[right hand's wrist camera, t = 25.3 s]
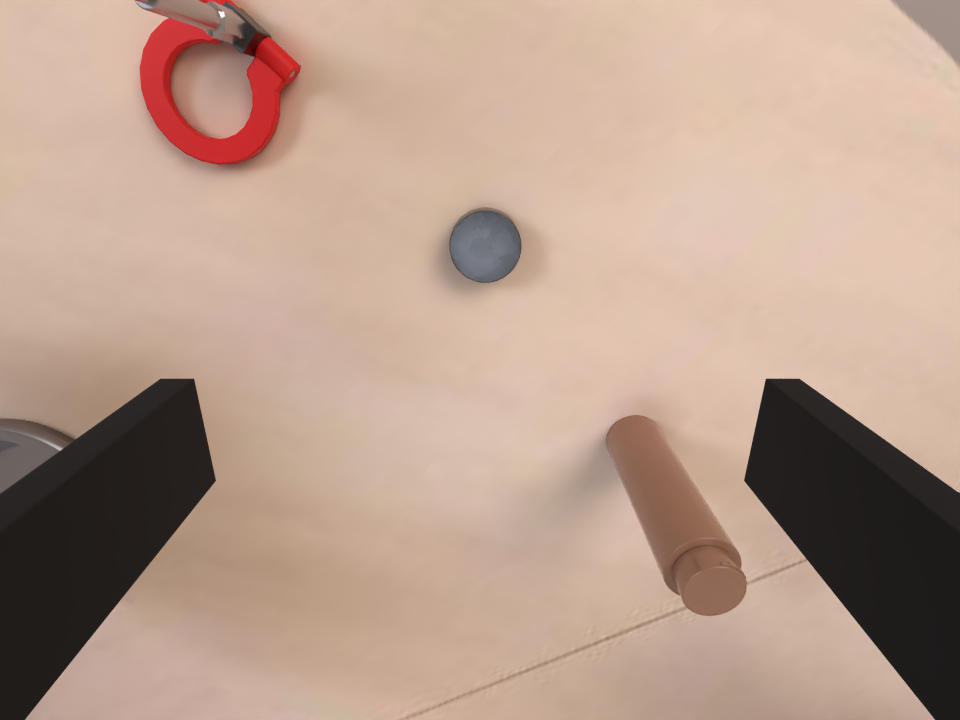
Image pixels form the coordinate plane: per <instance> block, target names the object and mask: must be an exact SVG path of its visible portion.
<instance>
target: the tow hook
mask: <svg viewBox="0 0 960 720" xmlns="http://www.w3.org/2000/svg"><path fill="white" fill-rule="evenodd" d="M135 2H136V3H137V4H138V5H139V6H140V7H141V8H143V9H145V10H148V11H151V12H154V13H157V14H160V15H163V16H166V17H168V18H169V19H167V20H165V21H163V22H162V23H161V24H160V25H159V26H158V27H157V28H156V29H155V30H154V31H153V32H152V33H151V35H150V37H149V39H148V41H147V43H146V45H145V47H144V49H143V54H142V60H141V65H140V77H141V89H142V93H143V96H144V99H145V103H146V106H147V109H148V111H149V112H150V114H151V116H152V118H153V120H154V122H155V123H156V125H157V127H158V128H159V129H160V130H161V131H162V133H163V134H164V135H165V136H166V137H167V139H168V140H169V141H170V142H171V143H173V144H174V145H175V146H176V147H178V148H179V149H180V150H182V151H183V152H184V153H185V154H188V155H190V156H192V157H194V158H196V159H198V160H201V161H204V162H209V163H214V164H229V163H239V162H242V161H244V160H246V159H249V158H251V157H254V156H255V155H256V154H257V153H259V152H260V151H261V150H262V149H263V148H264V147H266V146H267V144H268V142H269V141H270V139H271V138H272V136H273V134H274V133H275V130H276V127H277V123H278V120H279V116H280V92H281V91H282V89H283V88H284V86H285V85H286V84H289V83H291V82H292V81H293V80H294V79H295V78H296V76H297V75H298V73H299V71H300V65H299V64H298V63H297V62H296V61H295V60H293V59H292V58H291V57H290V56H289V55H288V54H287V53H286V52H285V51H284V50H283V49H282V48H281V47H280V46H279V45H278V44H276V43H275V42H274V41H273V40H272V39H271V36H270V35H269V34H268V33H267V32H266V31H265V30H264V29H263V28H262V27H261V26H260V25H259V24H258V23H257V22H256V21H254V20H253V19H252V18H251V17H250V16H249V15H248V14H247V13H246V12H245V11H244V10H243V9H241V8H239V7H237V6H236V5H235V4H234V3H233V2H232V1H231V0H135ZM220 41H224V42H228V43H231V44H232V45H233V46H234V47H235V48H236V49H237V50H238V51H240V52H241V53H244V54H247V55H250V56H254V57H255V59H254V60H253V62H252V63H251V65H250V66H249V68H248V69H247V76H248V78H249V80H250V84H251V89H252V93H253V107H252V111H251V114H250V118H249V120H248V121H247V123H246V125H245V126H244V128H243V129H241V130H240V131H239V132H238V133H237V134H236V135H233V136H231V137H229V138H226V139H215V138H210V137H207V136H205V135H203V134H201V133H199V132H197V131H196V130H195V129H194V128H192V127H191V126H190V125H189V124H188V123H187V122H186V121H185V120H184V118H183V117H182V116H181V115H180V113H179V111H178V109H177V107H176V105H175V103H174V100H173V97H172V93H171V86H170V76H171V71H172V66H173V64H174V62H175V60H176V58H177V56H178V55H179V54H180V53H181V52H182V51H183V50H184V49H185V48H187V47H189V46H191V45H193V44H195V43H204V42H209V43H214V44H217V43H219V42H220Z"/></svg>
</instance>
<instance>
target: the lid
mask: <svg viewBox="0 0 960 720" xmlns="http://www.w3.org/2000/svg"><path fill="white" fill-rule="evenodd" d="M520 253H521V239H520V235H519V233H518V230H517V228H516V226H515V224H514V223H513V221H512V220H511V219H510V218H509V217H508V216H507V215H506V214H504V213H503V212H501V211H499V210H496V209H493V208H478V209H474V210H472V211H470V212H468V213H466V214H465V215H464V216H462V217H461V218H460V220H459V221H458V222H457V224H456V225H455V227H454V229H453V232H452V235H451V239H450V254H451V258H452V261H453V263H454V265H455V266H456V268H457V269H458V270H459V271H460V272H461V273H462V274H463V275H464V276H466V277H467V278H469V279H471V280H474V281H477V282H494V281H497V280H499V279H502V278H503V277H505V276H506V275H508V274H509V273H510V272H511V271H512V270H513V269H514V267H515V266H516V264H517V262H518V260H519V257H520Z"/></svg>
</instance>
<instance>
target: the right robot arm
mask: <svg viewBox="0 0 960 720" xmlns="http://www.w3.org/2000/svg"><path fill="white" fill-rule="evenodd" d="M215 481H216V479H215V474H214V470H213V465H212V460H211V456H210V451H209V446H208V442H207V437H206V432H205V428H204V423H203V418H202V414H201V409H200V404H199V400H198V395H197V390H196V386H195V381H194V379H160V380H158V381H157V382H156V383H154V384H153V385H151V386H150V387H149V388H147V389H146V390H144V391H143V392H142V393H140V394H139V395H137V396H136V397H135V398H133V399H132V400H130V401H129V402H128V403H126V404H125V405H123V406H122V407H121V408H119V409H118V410H116V411H115V412H114V413H112V414H111V415H109V416H108V417H107V418H105V419H104V420H102V421H101V422H100V423H98V424H97V425H95V426H94V427H93V428H91V429H90V430H88V431H87V432H86V433H84V434H83V435H81V436H80V437H79V438H77V439H76V440H73V439H72V438H70V437H68V436H66V435H64V434H62V433H60V432H58V431H56V430H54V429H51V428H48V427H46V426H43V425H40V424H36V423H32V422H28V421H23V420H15V419H0V720H25V719H26V717H27V716H28V715H29V714H30V712H31V711H32V710H33V709H34V707H35V706H36V705H37V704H38V702H39V701H40V700H41V699H42V697H43V696H44V695H45V694H46V692H47V691H48V690H49V689H50V687H51V686H52V685H53V684H54V682H55V681H56V680H57V679H58V677H59V676H60V675H61V674H62V672H63V671H64V670H65V669H66V667H67V666H68V665H69V664H70V662H71V661H72V660H73V659H74V657H75V656H76V655H77V654H78V652H79V651H80V650H81V649H82V647H83V646H84V645H85V644H86V642H87V641H88V640H89V639H90V637H91V636H92V635H93V634H94V632H95V631H96V630H97V629H98V627H99V626H100V625H101V624H102V622H103V621H104V620H105V619H106V617H107V616H108V615H109V614H110V612H111V611H112V610H113V609H114V607H115V606H116V605H117V604H118V602H119V601H120V600H121V599H122V597H123V596H124V595H125V594H126V592H127V591H128V590H129V589H130V587H131V586H132V585H133V584H134V582H135V581H136V580H137V579H138V577H139V576H140V575H141V574H142V572H143V571H144V570H145V569H146V567H147V566H148V565H149V564H150V562H151V561H152V560H153V559H154V557H155V556H156V555H157V554H158V552H159V551H160V550H161V549H162V547H163V546H164V545H165V544H166V542H167V541H168V540H169V539H170V537H171V536H172V535H173V534H174V532H175V531H176V530H177V529H178V527H179V526H180V525H181V524H182V522H183V521H184V520H185V519H186V517H187V516H188V515H189V514H190V512H191V511H192V510H193V509H194V507H195V506H196V505H197V504H198V502H199V501H200V500H201V499H202V497H203V496H204V495H205V494H206V492H207V491H208V490H209V489H210V487H211V486H212V485H213V484H214V482H215ZM744 481H745V482H746V484H747V485H748V486H749V487H750V489H751V490H752V491H753V492H754V494H755V495H756V496H757V497H758V499H759V500H760V501H761V502H762V504H763V505H764V506H765V507H766V509H767V510H768V511H769V512H770V514H771V515H772V516H773V517H774V519H775V520H776V521H777V522H778V524H779V525H780V526H781V527H782V529H783V530H784V531H785V532H786V534H787V535H788V536H789V537H790V539H791V540H792V541H793V542H794V544H795V545H796V546H797V547H798V549H799V550H800V551H801V552H802V554H803V555H804V556H805V557H806V559H807V560H808V561H809V562H810V564H811V565H812V566H813V567H814V569H815V570H816V571H817V572H818V574H819V575H820V576H821V577H822V579H823V580H824V581H825V582H826V584H827V585H828V586H829V587H830V589H831V590H832V591H833V592H834V594H835V595H836V596H837V597H838V599H839V600H840V601H841V602H842V604H843V605H844V606H845V607H846V609H847V610H848V611H849V612H850V614H851V615H852V616H853V617H854V619H855V620H856V621H857V622H858V624H859V625H860V626H861V627H862V629H863V630H864V631H865V632H866V634H867V635H868V636H869V637H870V639H871V640H872V641H873V642H874V644H875V645H876V646H877V647H878V649H879V650H880V651H881V652H882V654H883V655H884V656H885V657H886V659H887V660H888V661H889V662H890V664H891V665H892V666H893V667H894V669H895V670H896V671H897V672H898V674H899V675H900V676H901V677H902V679H903V680H904V681H905V682H906V684H907V685H908V686H909V687H910V689H911V690H912V691H913V692H914V694H915V695H916V696H917V697H918V699H919V700H920V701H921V702H922V704H923V705H924V706H925V707H926V709H927V710H928V711H929V712H930V714H931V715H932V716H933V717H934V719H935V720H960V493H959V492H957V491H955V490H954V489H953V488H951V487H950V486H948V485H947V484H946V483H944V482H943V481H941V480H940V479H939V478H937V477H936V476H934V475H933V474H932V473H930V472H929V471H927V470H926V469H925V468H923V467H922V466H920V465H919V464H918V463H916V462H915V461H913V460H912V459H911V458H909V457H908V456H906V455H905V454H904V453H902V452H901V451H899V450H898V449H897V448H895V447H894V446H893V445H891V444H890V443H888V442H887V441H886V440H884V439H883V438H881V437H880V436H879V435H877V434H876V433H874V432H873V431H872V430H870V429H869V428H867V427H866V426H865V425H863V424H862V423H860V422H859V421H858V420H856V419H855V418H853V417H852V416H851V415H849V414H848V413H846V412H845V411H844V410H842V409H841V408H839V407H838V406H837V405H835V404H834V403H832V402H831V401H830V400H828V399H827V398H825V397H824V396H823V395H821V394H820V393H818V392H817V391H816V390H814V389H813V388H811V387H810V386H809V385H807V384H806V383H804V382H803V381H802V380H800V379H766V381H765V386H764V390H763V395H762V400H761V404H760V409H759V414H758V418H757V423H756V428H755V432H754V437H753V442H752V446H751V451H750V456H749V460H748V465H747V470H746V474H745V479H744Z"/></svg>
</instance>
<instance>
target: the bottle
mask: <svg viewBox="0 0 960 720" xmlns="http://www.w3.org/2000/svg"><path fill="white" fill-rule="evenodd" d="M607 448H608V450H609V453H610V455H611V457H612V460H613V462H614V464H615V467H616V469H617V471H618V474H619V476H620V478H621V481H622V483H623V485H624V488H625V490H626V492H627V495H628V497H629V499H630V502H631V504H632V506H633V509H634V511H635V513H636V516H637V518H638V520H639V523H640V525H641V527H642V530H643V532H644V534H645V537H646V539H647V541H648V544H649V546H650V548H651V551H652V553H653V555H654V558H655V560H656V562H657V565H658V567H659V569H660V572H661V574H662V576H663V579H664V581H665V583H666V585H667V586H668V587H669V588H670V589H671V590H672V591H673V592H674V593H676V594H678V595H680V596H681V598H682V601H683V603H684V604H685V606H686V607H687V608H688V609H689V610H691V611H692V612H694V613H697V614H700V615H705V616H714V615H720V614H723V613H726V612H728V611H730V610H732V609H733V608H735V607H736V606H737V605H738V604H739V603H740V602H741V601H742V599H743V598H744V596H745V593H746V584H747V583H746V577H745V575H744V573H743V571H742V570H741V557H740V554H739V552H738V551H737V549H736V547H735V546H734V544H733V543H732V541H731V540H730V538H729V537H728V535H727V533H726V532H725V530H724V529H723V527H722V526H721V524H720V523H719V521H718V519H717V518H716V516H715V515H714V513H713V512H712V510H711V509H710V507H709V505H708V504H707V502H706V501H705V499H704V498H703V496H702V495H701V493H700V492H699V490H698V488H697V487H696V485H695V484H694V482H693V481H692V479H691V478H690V476H689V474H688V473H687V471H686V470H685V468H684V467H683V465H682V464H681V462H680V460H679V459H678V457H677V456H676V454H675V453H674V451H673V450H672V448H671V446H670V445H669V443H668V442H667V440H666V439H665V437H664V436H663V434H662V432H661V431H660V429H659V428H658V426H657V425H656V424H655V422H653V421H652V420H651V419H649V418H647V417H644V416H628V417H625V418H623V419H621V420H619V421H618V422H616V423H615V424H614V425H613V426H612V427H611V429H610V431H609V433H608V435H607Z"/></svg>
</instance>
